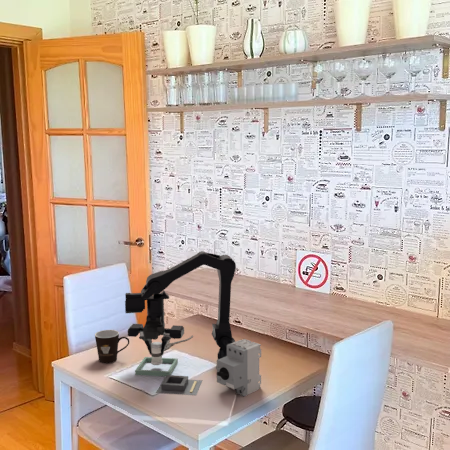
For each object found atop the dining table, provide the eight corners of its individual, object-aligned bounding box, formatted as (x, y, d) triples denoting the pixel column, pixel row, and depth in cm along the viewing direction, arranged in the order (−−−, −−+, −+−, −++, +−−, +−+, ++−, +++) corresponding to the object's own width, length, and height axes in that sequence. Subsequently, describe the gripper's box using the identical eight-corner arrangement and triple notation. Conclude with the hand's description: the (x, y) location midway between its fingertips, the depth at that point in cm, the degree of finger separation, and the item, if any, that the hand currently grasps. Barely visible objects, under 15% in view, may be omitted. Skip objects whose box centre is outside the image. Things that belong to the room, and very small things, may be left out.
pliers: (194, 333, 236) (179, 351, 217) (194, 335, 236) (179, 353, 217) (171, 332, 238) (155, 349, 219) (171, 334, 238) (155, 351, 219)
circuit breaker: (213, 395, 182) (212, 349, 179) (244, 381, 191) (244, 338, 189) (230, 402, 176) (229, 356, 174) (261, 388, 186) (261, 344, 184)
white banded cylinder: (163, 361, 201) (163, 342, 200) (160, 365, 197) (160, 346, 196) (153, 360, 202) (152, 341, 201) (150, 364, 198) (149, 345, 197)
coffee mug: (91, 362, 208) (89, 335, 207) (105, 354, 216) (104, 328, 214) (117, 367, 203) (116, 340, 202) (131, 358, 211) (130, 332, 209)
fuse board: (202, 383, 190) (202, 374, 190) (196, 398, 180) (196, 389, 179) (164, 381, 192) (164, 372, 192) (155, 395, 181) (155, 386, 181)
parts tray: (177, 365, 205) (177, 358, 205) (169, 379, 193) (169, 372, 193) (145, 363, 207) (144, 356, 206) (135, 377, 195) (135, 370, 195)
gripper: (121, 317, 190) (123, 362, 193) (176, 319, 187) (177, 365, 190) (131, 307, 201) (133, 350, 203) (184, 309, 198) (185, 352, 201)
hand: (156, 354), depth 199 cm, fingers closed on white banded cylinder, 4 cm apart
